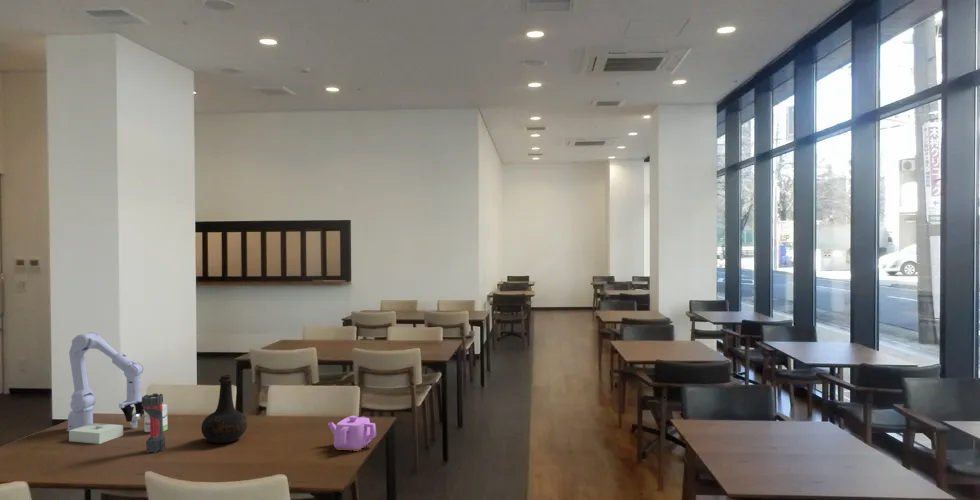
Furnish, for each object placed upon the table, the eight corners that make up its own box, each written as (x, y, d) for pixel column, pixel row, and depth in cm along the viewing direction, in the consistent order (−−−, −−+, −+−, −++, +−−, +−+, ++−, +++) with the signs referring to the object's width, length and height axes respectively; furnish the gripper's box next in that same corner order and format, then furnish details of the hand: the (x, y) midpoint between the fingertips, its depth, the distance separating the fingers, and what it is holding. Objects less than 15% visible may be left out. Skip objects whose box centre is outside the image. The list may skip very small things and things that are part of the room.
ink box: (168, 429, 272) (168, 403, 272) (160, 432, 268) (160, 406, 268) (151, 428, 274) (151, 403, 274) (143, 431, 269) (143, 405, 269)
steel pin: (125, 429, 273) (125, 415, 273) (133, 426, 278) (133, 412, 278) (134, 430, 272) (134, 415, 272) (142, 427, 277) (142, 413, 277)
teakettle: (340, 455, 237) (340, 424, 237) (326, 444, 251) (326, 414, 251) (380, 447, 247) (380, 417, 247) (364, 437, 261) (364, 408, 261)
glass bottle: (192, 443, 253) (192, 377, 253) (228, 432, 269) (228, 369, 269) (220, 449, 244) (220, 381, 245) (256, 437, 260) (256, 373, 260)
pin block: (69, 441, 256) (69, 430, 256) (93, 432, 268) (93, 422, 268) (99, 443, 253) (99, 433, 253) (123, 435, 264) (123, 425, 264)
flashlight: (139, 455, 238) (139, 398, 238) (145, 449, 245) (145, 393, 245) (161, 453, 240) (161, 396, 240) (166, 447, 247) (166, 392, 247)
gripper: (128, 394, 267) (128, 424, 267) (153, 387, 281) (153, 416, 281) (115, 393, 269) (115, 423, 269) (141, 386, 283) (141, 415, 283)
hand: (134, 419), depth 275 cm, fingers closed on steel pin, 5 cm apart
